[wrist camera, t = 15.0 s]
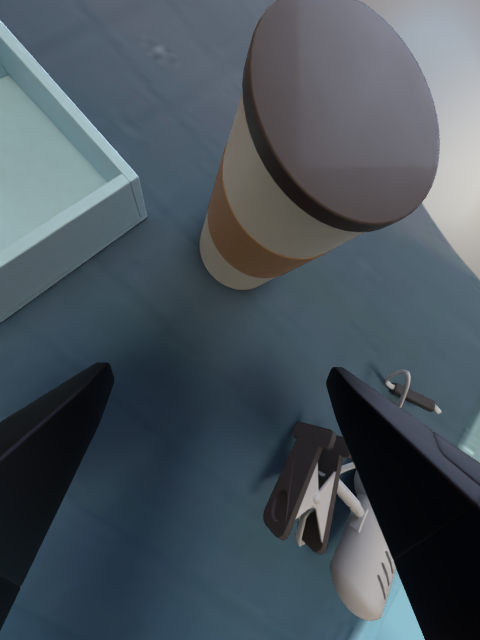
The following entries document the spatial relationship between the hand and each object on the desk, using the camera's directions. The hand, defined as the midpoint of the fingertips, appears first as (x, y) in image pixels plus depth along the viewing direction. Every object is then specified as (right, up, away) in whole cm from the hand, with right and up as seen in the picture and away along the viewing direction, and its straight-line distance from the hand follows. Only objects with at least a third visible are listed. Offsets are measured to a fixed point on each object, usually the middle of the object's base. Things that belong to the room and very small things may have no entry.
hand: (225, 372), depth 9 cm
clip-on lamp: (+11, -10, +12) cm, 19 cm away
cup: (+1, +8, +9) cm, 12 cm away
